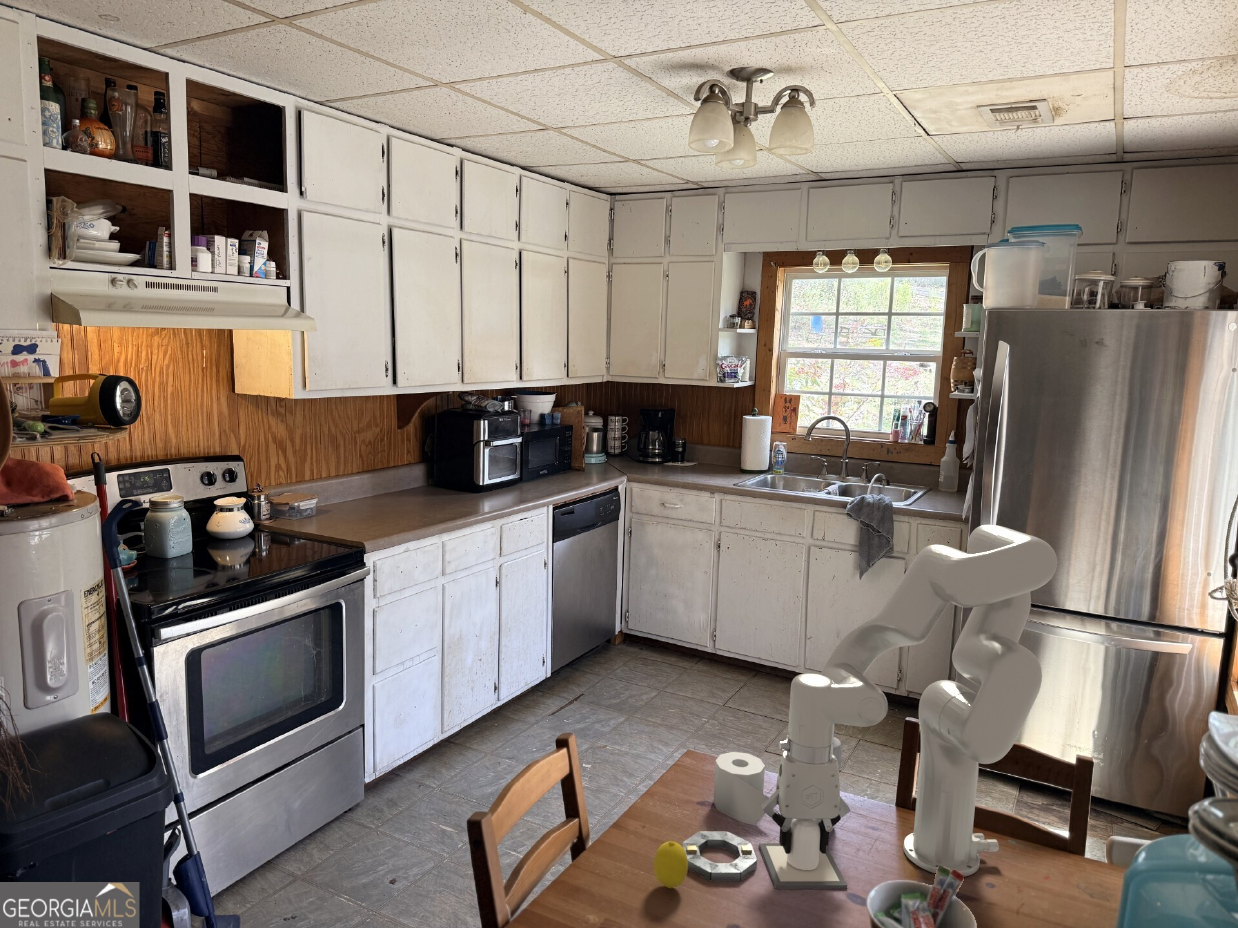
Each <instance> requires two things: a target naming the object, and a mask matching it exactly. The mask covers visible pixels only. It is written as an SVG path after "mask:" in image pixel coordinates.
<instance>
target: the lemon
mask: <svg viewBox="0 0 1238 928" xmlns="http://www.w3.org/2000/svg"><path fill="white" fill-rule="evenodd" d="M653 871H654V875H655V877H656V879H657V881H658V882H659V883H660V884H661V885H662V886H664V887H666V888H668V889H673V888H675V887H678V886H680V885H681V884H683V882H684V881H685V879H686V878H687V875H688V871H689V870H688V860H687V855H686V852H685V850H684V848H683V847H682V844H680V843H678V842H676V841H673V840H670V841H666V842H664V843H662V844H661V845H660V846H659V847H658V849H657V850H656V851H655V855H654V859H653Z"/></svg>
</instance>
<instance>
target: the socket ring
mask: <svg viewBox="0 0 1238 928" xmlns="http://www.w3.org/2000/svg"><path fill="white" fill-rule="evenodd" d="M681 846H682V847H683V848H684V850H685V852H686V855H687V860H688V870H687V871H690V872H692V873H693V874H696V875H697V876H699V877H701V878H703V879H704V880H706V881H708V882H712V883H713V882H716V883H717V882H721V883H722V882H725V883H727V882H737V883H738V882H742V881H743V880H745V878H747V877H748V876H750V875H751V874H752V873H753V872H754V871H756V870H757V866H758V858H757V856H756V853H755V850H754V847H753V845H752V843H751V842H750V841H748V840H747V839H743V838H742V837H740V836H738V835H736V834H733V833H731V832H729V831H723V830H722V831H721V830H717V831H714V830H711V831H710V830H709V831H708V830H705V831H704V830H703V831H702V830H700V831H697V832H696V833H694V834H693V835H691V836H690V837H688V838H686V839H685V840H684V841H682V844H681ZM707 849H724V850H726V851H729V852H730V853H732V854H735V855H736V856H737V858H736V859H735V860H733V861H732V862H714V861H711V860H709V859H707V858H706V857H703V856H702V855H701V853H702V852H704V851H706V850H707Z"/></svg>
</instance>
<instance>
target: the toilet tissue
mask: <svg viewBox="0 0 1238 928" xmlns="http://www.w3.org/2000/svg"><path fill="white" fill-rule="evenodd" d="M714 762H715V763H714V766H715V767H714V782H713V783H714V784H713V800H712V802H713V804H714V806H715V808H716V809H717V811H719V812H720V813H723V814H725V815H726V816H728V817H730V818H732V819H734V820H736V821H738V822H740V823H744V824H748V825H751V826H755V827H757V825H758V824H759V822H760V821H761V820H762V819H763V817H764V816H765V815H766V813H765V812H764V811H763V808H762V805H763V804H764V803H765V802H766V801H767V799H768V798H769V796H767V795H766V794H764V787H765V786H764V785H765V769H766V765H765V764H764V763H763V761H762V759H761V758H760V757H757V756H755V755H753V754H750V753H748V752H747V753H745V752H737V751H730V752H726V753H721V754H719V756H718V757H717V758H716V759H715V761H714Z"/></svg>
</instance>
